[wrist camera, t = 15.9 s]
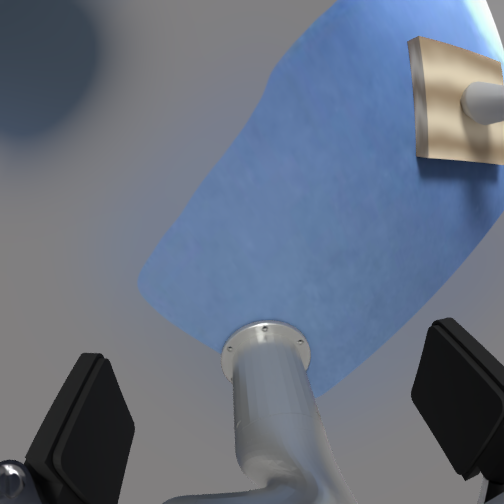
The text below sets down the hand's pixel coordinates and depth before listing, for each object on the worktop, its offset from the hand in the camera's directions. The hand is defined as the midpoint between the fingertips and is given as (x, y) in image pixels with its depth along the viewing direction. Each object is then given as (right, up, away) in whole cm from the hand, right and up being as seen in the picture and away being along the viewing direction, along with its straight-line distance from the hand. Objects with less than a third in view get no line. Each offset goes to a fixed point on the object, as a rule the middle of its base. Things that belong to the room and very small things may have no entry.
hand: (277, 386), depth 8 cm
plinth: (+28, +24, +26) cm, 45 cm away
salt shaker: (+28, +23, +23) cm, 43 cm away
